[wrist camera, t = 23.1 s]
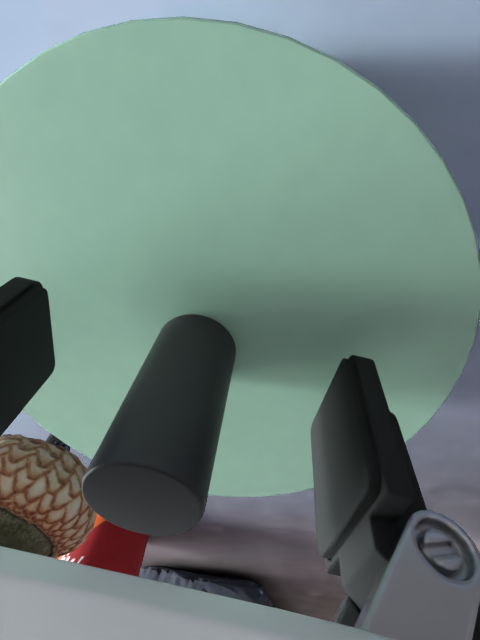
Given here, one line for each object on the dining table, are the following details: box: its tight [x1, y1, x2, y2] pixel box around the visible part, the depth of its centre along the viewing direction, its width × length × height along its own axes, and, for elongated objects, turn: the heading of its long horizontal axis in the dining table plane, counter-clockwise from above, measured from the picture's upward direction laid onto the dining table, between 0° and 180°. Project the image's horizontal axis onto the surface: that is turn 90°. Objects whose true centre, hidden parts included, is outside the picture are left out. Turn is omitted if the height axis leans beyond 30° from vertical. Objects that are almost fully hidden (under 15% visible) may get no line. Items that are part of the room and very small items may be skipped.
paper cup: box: [58, 514, 148, 577], centre depth 24 cm, size 8×8×14 cm
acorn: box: [0, 433, 97, 558], centre depth 20 cm, size 8×8×10 cm
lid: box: [0, 17, 480, 536], centre depth 9 cm, size 16×16×6 cm
